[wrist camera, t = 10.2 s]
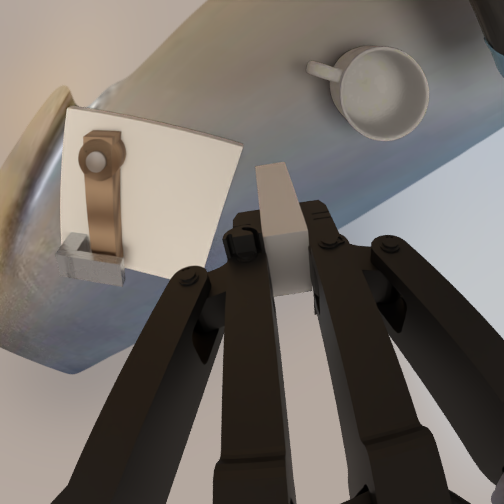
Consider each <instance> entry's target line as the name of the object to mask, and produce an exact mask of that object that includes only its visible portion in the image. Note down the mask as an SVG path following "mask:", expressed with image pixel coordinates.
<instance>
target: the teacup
mask: <svg viewBox="0 0 504 504" xmlns="http://www.w3.org/2000/svg"><path fill="white" fill-rule="evenodd" d="M306 71H307V73H308V74H311V75H314V76H317V77H320V78H323V79H326V80H330V92H331V96H332V99H333V102H334V104H335V106H336V107H337V109H338V110H339V112H340V113H341V114H342V115H343V116H344V117H345V119H346V120H347V121H348V122H349V123H350V125H351V126H352V127H353V128H354V129H355V130H356V131H358V132H359V133H360V134H362V135H364V136H366V137H368V138H370V139H373V140H378V141H391V140H396V139H399V138H402V137H404V136H406V135H407V134H409V133H410V132H411V131H413V130H414V129H415V128H416V127H417V125H418V124H419V123H420V122H421V120H422V119H423V117H424V115H425V113H426V110H427V107H428V102H429V87H428V82H427V79H426V76H425V74H424V72H423V70H422V68H421V67H420V66H419V64H418V63H417V62H416V61H415V60H414V59H413V58H412V57H411V56H410V55H408V54H407V53H405V52H403V51H402V50H399V49H396V48H392V47H383V46H362V47H357V48H355V49H352V50H350V51H348V52H346V53H345V54H344V55H343V56H341V57H340V58H339V60H338V61H337V62H336V64H335V66H334V67H331V66H328V65H325V64H322V63H319V62H316V61H309V62H308V64H307V68H306Z"/></svg>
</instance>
